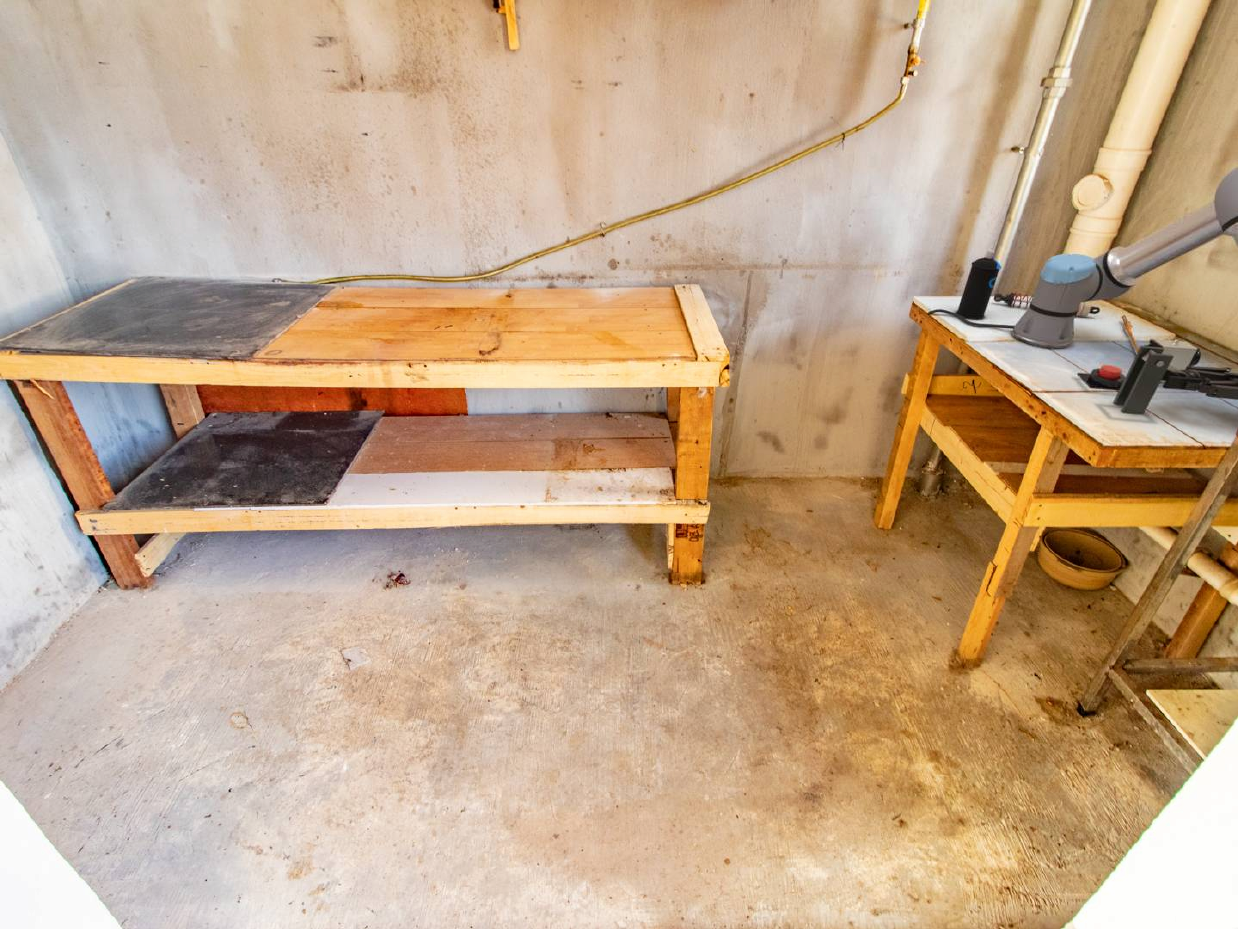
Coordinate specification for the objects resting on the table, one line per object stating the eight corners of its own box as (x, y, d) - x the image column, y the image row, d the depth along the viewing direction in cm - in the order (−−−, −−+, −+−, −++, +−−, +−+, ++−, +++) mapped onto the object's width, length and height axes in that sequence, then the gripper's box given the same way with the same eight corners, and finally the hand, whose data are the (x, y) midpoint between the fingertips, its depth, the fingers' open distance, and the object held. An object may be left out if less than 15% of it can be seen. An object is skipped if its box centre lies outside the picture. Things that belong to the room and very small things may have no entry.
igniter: (1113, 373, 164) (1117, 365, 163) (1121, 380, 161) (1125, 373, 159) (1094, 371, 165) (1098, 364, 164) (1102, 379, 161) (1106, 371, 160)
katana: (1136, 366, 178) (1140, 357, 176) (1119, 320, 203) (1123, 312, 202) (1141, 367, 177) (1146, 358, 176) (1124, 321, 203) (1128, 312, 201)
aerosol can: (956, 317, 204) (977, 252, 193) (955, 309, 210) (975, 246, 199) (985, 321, 202) (1007, 256, 191) (983, 312, 208) (1004, 249, 197)
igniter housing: (1116, 382, 167) (1123, 369, 165) (1131, 396, 160) (1138, 383, 158) (1074, 378, 168) (1080, 366, 166) (1088, 392, 162) (1094, 379, 160)
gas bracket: (1138, 408, 155) (1171, 346, 146) (1153, 422, 149) (1188, 359, 141) (1098, 404, 156) (1127, 343, 148) (1111, 418, 151) (1142, 355, 142)
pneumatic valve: (1184, 389, 164) (1208, 345, 158) (1134, 386, 165) (1156, 341, 159) (1171, 380, 169) (1195, 336, 162) (1123, 376, 170) (1144, 333, 163)
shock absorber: (995, 296, 211) (1102, 310, 201) (996, 286, 214) (1103, 300, 203) (990, 307, 215) (1096, 321, 205) (992, 298, 218) (1096, 311, 207)
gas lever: (1184, 384, 149) (1198, 372, 147) (1193, 391, 146) (1207, 379, 144) (1137, 358, 148) (1151, 345, 146) (1145, 365, 145) (1159, 352, 143)
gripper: (1292, 420, 139) (1172, 409, 142) (1244, 386, 153) (1135, 377, 156) (1313, 388, 135) (1189, 378, 138) (1262, 356, 149) (1150, 347, 152)
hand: (1161, 377), depth 147 cm, fingers closed on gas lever, 4 cm apart
